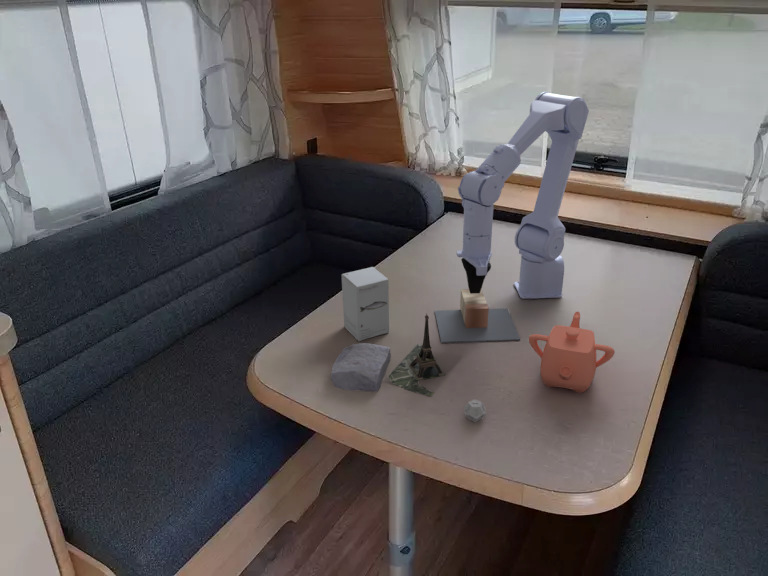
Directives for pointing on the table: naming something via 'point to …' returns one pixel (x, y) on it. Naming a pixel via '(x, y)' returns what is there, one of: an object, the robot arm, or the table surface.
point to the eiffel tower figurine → (417, 367)
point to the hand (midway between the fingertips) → (474, 291)
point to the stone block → (361, 367)
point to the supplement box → (365, 303)
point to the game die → (474, 410)
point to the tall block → (474, 309)
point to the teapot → (569, 356)
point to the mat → (456, 330)
